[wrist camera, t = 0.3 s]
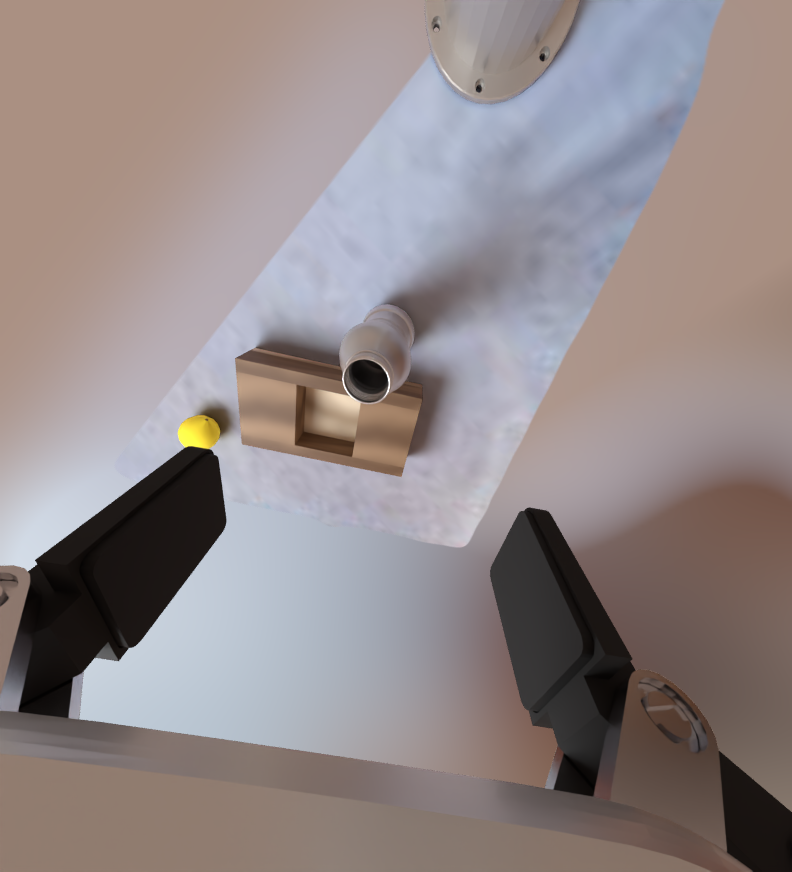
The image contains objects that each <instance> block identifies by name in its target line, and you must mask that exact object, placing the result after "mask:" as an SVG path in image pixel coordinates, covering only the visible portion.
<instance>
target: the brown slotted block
mask: <svg viewBox="0 0 792 872" xmlns="http://www.w3.org/2000/svg"><path fill="white" fill-rule="evenodd" d="M235 362H236V375H237V387H238V400H239V413H240V426H241V439H242V444H243V445H248V446H253V447H258V448H263V449H268V450H273V451H278V452H282V453H287V454H292V455H297V456H302V457H307V458H312V459H317V460H321V461H326V462H331V463H336V464H341V465H346V466H351V467H356V468H361V469H365V470H370V471H375V472H380V473H385V474H390V475H395V476H400V477H401V476H402V473H403V469H404V465H405V462H406V458H407V454H408V451H409V447H410V443H411V440H412V436H413V432H414V429H415V425H416V421H417V418H418V414H419V411H420V407H421V403H422V400H423V395H422V385H421V384H417V383H412V382H408V381H405V382H404V384H403V385H402V386H401V387H399V388H398V389H397V390H395V391H393V392H391V393H389V394H388V395H387V396H386V398H385V399H383V400H382V401H381V402H379V403H376V404H363V403H360V402H357V401H356V400H354V399H353V398H352V397H350V396H349V394H348V393H347V392H346V390H345V388H344V385H343V380H342V376H343V372H342V369H341V367H340V366H335V365H330V364H326V363H321V362H317V361H312V360H308V359H303V358H299V357H294V356H290V355H285V354H281V353H276V352H271V351H267V350H262V349H258V348H254V349H252V350H250V351H248V352H246V353H244V354H243V355H241V356H239V357H237V358H235Z"/></svg>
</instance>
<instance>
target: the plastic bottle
mask: <svg viewBox="0 0 792 872" xmlns="http://www.w3.org/2000/svg"><path fill="white" fill-rule="evenodd" d="M414 338H415V331H414V326H413V323H412V321H411V319H410V317H409V316H408V315H407V313H406V312H405V311H403V310H402V309H401V308H399V307H397V306H394V305H389V304H384V305H379V306H377V307H375V308H373V309H372V310H370V311H369V313H368V314H367V315H366V317H365V319H364V321H363V323H361V324H358V325H356V326H355V327H353V328H352V329H351V330H349V332H348V333H347V334H346V335H345V337H344V338H343V340H342V342H341V346H340V351H339V359H340V366H341V369H342V372H343V376H342V380H343V385H344V388H345V390H346V392H347V393H348V394H349V396H350V397H352V398H353V399H354V400H356V401H357V402H360V403H363V404H376V403H379V402H381V401H382V400H383V399H385V398H386V396H387V395H388V394H389V393H391V392H393V391H395V390H397V389H398V388H399V387H401V386H402V385H403V384H404V382H405V381H406V380H407V378H408V375H409V373H410V369H411V354H410V349H411V347H412V345H413V342H414Z"/></svg>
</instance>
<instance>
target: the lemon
mask: <svg viewBox="0 0 792 872" xmlns="http://www.w3.org/2000/svg"><path fill="white" fill-rule="evenodd" d="M178 435H179V440H180V441H181V443H182V444H183V445H184V446H185V447H188V446H195V447H200V448H206V449H209V448H211V447H212V446H214V445H215V444H216V442H217V441H218V439H219V436H220V428H219V426H218V424H217V422H216V421H215V420H214V419H212V418H209V417H207V416H205V415H197V416H194V417H190V418H188V419H186V420H185V421H184V422H183V423H182V424H181V425H180V428H179V430H178Z"/></svg>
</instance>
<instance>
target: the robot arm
mask: <svg viewBox="0 0 792 872" xmlns="http://www.w3.org/2000/svg"><path fill="white" fill-rule="evenodd" d="M579 2H580V0H425V18H426V31H427V36H428V40H429V45H430V50H431V53H432V55H433V58H434V60H435V63H436V66H437V68H438V70H439V71H440V73H441V75H442V76H443V78H444V80H445V81H446V82H447V84H448V85H449V86H450V87H451V88H452V89H453V90H454V91H455V92H456V93H457V94H459V95H460V96H462V97H463V98H465V99H466V100H469V101H472V102H475V103H478V104H495V103H500V102H505V101H507V100H509V99H511V98H513V97H515V96H517V95H519V94H520V93H522V92H523V91H524V90H526V89H527V88H528V87H530V86H531V85H532V84H533V83H534V82H535V81H536V80H537V79H538V78H539V77H540V76H541V74H542V73H543V72H544V71H545V70H546V68H547V67H548V65H549V64H550V63H551V61H552V60H553V58H554V57H555V55H556V54H557V52H558V50H559V49H560V47H561V45H562V44H563V42H564V40H565V38H566V36H567V34H568V31H569V29H570V27H571V25H572V23H573V20H574V17H575V14H576V11H577V8H578V5H579ZM435 27H437V28H439V31H438V32H434V31H433V30H434V28H435ZM540 56H542V57H543V58H544V61H543V62H542V61H541V60H540V58H539V57H540ZM477 87H480V88H481V92H480V93H478V92H476V88H477ZM225 526H226V513H225V505H224V498H223V490H222V482H221V475H220V467H219V460H218V457H217V456H216V455H214V454H213V452H212V450H210V449H206V448H200V447H195V446H188V447H186V448H184V449H183V450H181V451H180V452H179V453H177V454H176V455H175V456H173V457H172V458H171V459H169V460H168V461H167V462H165V463H164V464H163V465H161V466H160V467H159V468H157V469H156V470H155V471H153V472H152V473H151V474H149V475H148V476H147V477H145V478H144V479H143V480H141V481H140V482H139V483H137V484H136V485H135V486H133V487H132V488H131V489H129V490H128V491H127V492H125V493H124V494H123V495H122V496H120V497H119V498H117V499H116V500H115V501H113V502H112V503H111V504H109V505H108V506H107V507H105V508H104V509H103V510H101V511H100V512H99V513H98V514H96V515H95V516H94V517H92V518H91V519H89V520H88V521H87V522H85V523H84V524H83V525H81V526H80V527H79V528H77V529H76V530H75V531H73V532H72V533H71V534H69V535H68V536H67V537H66V538H64V539H63V540H62V541H60V542H59V543H57V544H56V545H55V546H53V547H52V548H51V549H49V550H48V551H47V552H45V553H44V554H43V555H41V556H40V557H39V558H37V559H36V560H35V561H36V562H37V565H36V566H35V567H33V568H32V569H31V570H29V571H28V572H27V571H26V570H25V569H24V568H21V567H17V566H0V872H792V812H791V811H790V810H788V809H787V808H786V807H785V806H784V805H782V804H781V803H780V802H779V801H778V800H777V799H775V798H774V797H773V796H772V795H771V794H769V793H768V792H767V791H766V790H765V789H764V788H762V787H761V786H760V785H759V784H758V783H756V782H755V781H754V780H753V779H752V778H751V777H749V776H748V775H747V774H746V773H745V772H743V771H742V770H741V769H740V768H739V767H738V766H736V765H735V764H734V763H733V762H732V761H730V760H729V759H728V758H727V757H726V756H725V755H723V754H722V753H721V752H720V751H719V749H718V745H717V741H716V737H715V735H714V733H713V731H712V729H711V727H710V725H709V723H708V721H707V719H706V718H705V717H704V715H703V714H702V713H701V711H700V710H699V708H698V707H697V706H696V705H695V703H693V701H692V700H691V699H690V698H689V697H688V696H687V695H686V694H685V693H684V692H683V691H682V690H681V689H679V688H678V687H677V686H676V685H675V684H674V683H673V682H671V681H670V680H668V679H666V678H665V677H663V676H662V675H660V674H658V673H655V672H653V671H650V670H643V669H638V670H635V669H634V667H633V665H632V663H631V662H630V661H631V660H632V657H631V655H630V654H629V652H628V650H627V648H626V646H625V645H624V643H623V641H622V639H621V638H620V636H619V634H618V632H617V631H616V629H615V627H614V625H613V624H612V622H611V620H610V618H609V616H608V615H607V613H606V611H605V609H604V608H603V606H602V604H601V602H600V601H599V599H598V597H597V595H596V593H595V592H594V590H593V588H592V586H591V585H590V583H589V581H588V579H587V578H586V576H585V574H584V572H583V571H582V569H581V567H580V566H579V564H578V562H577V560H576V558H575V556H574V555H573V553H572V551H571V549H570V548H569V546H568V544H567V542H566V540H565V539H564V537H563V535H562V533H561V532H560V530H559V528H558V526H557V525H556V523H555V521H554V519H553V518H552V516H551V514H550V513H549V512H548V511H546V510H540V509H535V508H527V509H525V511H521V512H519V514H518V516H517V518H516V520H515V522H514V523H513V525H512V528H511V529H510V531H509V533H508V535H507V537H506V539H505V541H504V543H503V545H502V547H501V549H500V551H499V553H498V555H497V556H496V558H495V560H494V562H493V564H492V566H491V570H490V577H491V582H492V586H493V590H494V593H495V598H496V602H497V606H498V610H499V614H500V617H501V622H502V626H503V630H504V634H505V638H506V642H507V646H508V650H509V654H510V658H511V662H512V666H513V670H514V674H515V678H516V682H517V686H518V690H519V694H520V698H521V701H522V704H523V706H524V708H525V709H527V710H529V713H530V717H531V721H532V724H533V725H534V726H540V727H546V728H553V730H554V734H555V737H556V740H557V743H558V746H557V749H556V752H555V756H554V759H553V762H552V766H551V769H550V772H549V775H548V778H547V782H546V785H545V788H540V787H534V786H528V785H523V784H517V783H511V782H504V781H497V780H491V779H485V778H478V777H472V776H466V775H459V774H452V773H446V772H439V771H433V770H426V769H420V768H413V767H407V766H400V765H394V764H387V763H380V762H373V761H367V760H359V759H353V758H346V757H340V756H333V755H326V754H319V753H312V752H306V751H299V750H291V749H285V748H279V747H271V746H265V745H258V744H251V743H244V742H238V741H230V740H224V739H217V738H209V737H202V736H195V735H188V734H181V733H174V732H167V731H160V730H153V729H145V728H138V727H132V726H125V725H118V724H111V723H104V722H96V721H88V720H79V716H80V706H81V695H82V694H81V693H82V684H83V674H84V673H83V672H84V670H85V669H86V668H87V666H88V665H89V664H90V663H91V662H92V660H93V659H94V658H101V659H107V660H114V661H119V660H120V659H121V657H122V656H123V655H124V654H125V652H126V651H127V650H128V648H132V647H134V646H136V645H137V644H138V643H139V642H140V641H141V640H142V639H143V637H144V636H145V635H146V633H147V632H148V630H149V629H150V628H151V627H152V625H153V624H154V623H155V621H156V620H157V619H158V617H159V616H160V615H161V613H162V612H163V611H164V609H165V608H166V607H167V605H168V604H169V603H170V601H171V600H172V599H173V597H174V596H175V595H176V593H177V592H178V591H179V589H180V588H181V587H182V585H183V584H184V583H185V581H186V580H187V579H188V577H189V576H190V575H191V573H192V572H193V571H194V569H195V568H196V567H197V565H198V564H199V563H200V561H201V560H202V559H203V557H204V556H205V555H206V553H207V552H208V551H209V549H210V548H211V547H212V545H213V544H214V543H215V541H216V540H217V539H218V537H219V536H220V535H221V533H222V532H223V530H224V528H225Z"/></svg>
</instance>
